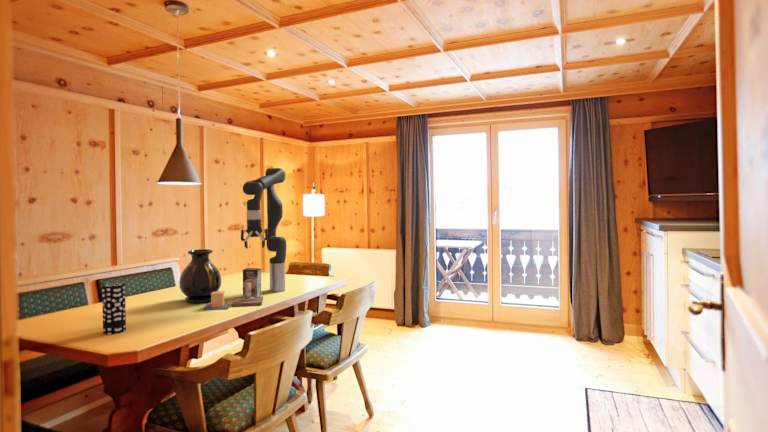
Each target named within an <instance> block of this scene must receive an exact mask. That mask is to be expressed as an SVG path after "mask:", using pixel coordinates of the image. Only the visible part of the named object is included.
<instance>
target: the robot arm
mask: <svg viewBox="0 0 768 432" xmlns="http://www.w3.org/2000/svg"><path fill="white" fill-rule="evenodd" d="M285 180H286V171H285V170H284V169H283V168H282V167H281V168H280V167H279V168H278V167H277V168H275V167H271V168H267V169H266V170H265V174H264V175H263V176H260V177H259V178H256V179H252V180H249V181H246V182H244V183H243V185H242V191H243V193H244V194H245V195H247V196H253V198H250V199H247V201H246V229H242V228H241V230H240V241H242V242H243V243H244V248H245V249H248V247H249V246H248V240H249V238H258V237H259V239H260V240H261V248H262V249H263V248H265V245H266V249H267V250H268V251H269V252H274V253H275V254H274V256H272V257H270V258H269V291H270V292H272V293H273V292H275V293H277V292H284V291H285V290H286V257H287V240H286V238H285V237H284V236H277V229H278V225H279V224H280V222H281V221H282V218H283V211H284V210H283V203H282V201H281V199H280V197H279V196H278V194H277V193H276V191H275V185H276V184H277V185H278V184H282V183H283V182H285ZM264 190H266V213H267V225H266V226H267V228H262V213H261V200H262V196H263V193H264V192H263V191H264ZM246 233H247V236H246V237H244V236H245V235H244V234H246ZM262 233H264V236H265V237H264V236H263V235H262Z"/></svg>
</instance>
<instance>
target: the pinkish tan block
mask: <svg viewBox="0 0 768 432" xmlns="http://www.w3.org/2000/svg"><path fill="white" fill-rule="evenodd" d="M224 303H225V291H224V290H223V291H222V290H220V291H219V290H218V291H215V292H212V293H211V307H223V305H224Z"/></svg>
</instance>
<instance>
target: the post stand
mask: <svg viewBox="0 0 768 432" xmlns="http://www.w3.org/2000/svg"><path fill="white" fill-rule="evenodd" d="M263 300H264V296H262V295H261V296H259V297H251V283H245V297H243V296H242V297H234V299H233V301H232V302H231V307H232V308H234V307H252V306H256V307H257V306H262V305H263Z"/></svg>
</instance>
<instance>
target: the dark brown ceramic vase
mask: <svg viewBox="0 0 768 432" xmlns="http://www.w3.org/2000/svg"><path fill="white" fill-rule="evenodd" d="M213 252H214V251H213V250H212V249H209V248H208V249H201V248H200V249H191V250H188V251H187V254H188V255H191V260H190V262H189V263H188V264H187V265H186V266H185V268H184V269H183V270H182V272H181V275H180V277H179V281H178V283H179V288H180V291H181V293H182V294H183V295H184V296H185V298H184V302H186V303H188V304H205V303H206V304H208V303H210V302H211V293H212V292H215V291H219V290H220V288H221V286H222V275H221V273H220V270H219V269H218V268H217V266H216V265H214V263H213V262H212V261H211V260H210V258H209V257H210V254H212V253H213Z"/></svg>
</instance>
